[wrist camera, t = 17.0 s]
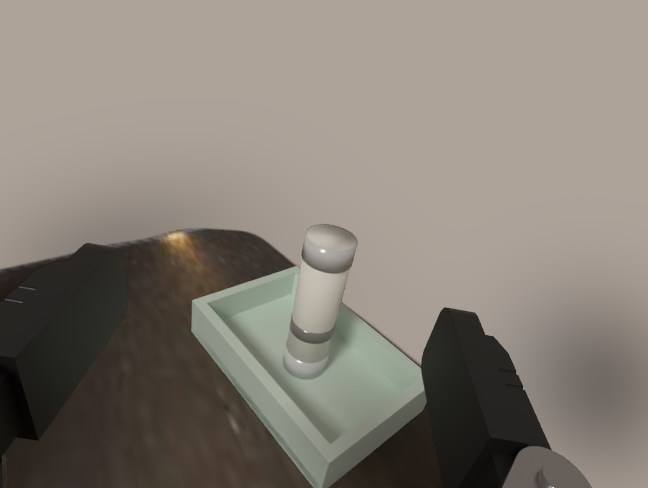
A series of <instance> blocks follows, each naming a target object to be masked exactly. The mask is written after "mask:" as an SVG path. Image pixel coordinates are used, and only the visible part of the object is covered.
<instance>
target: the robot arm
mask: <svg viewBox="0 0 648 488" xmlns="http://www.w3.org/2000/svg"><path fill="white" fill-rule="evenodd" d="M126 307H127V286H126V274H125V262H124V254H123V251H122V250H121V249H119V248H114V247H108V246H102V245H96V244H91V243H86V244H84V245H83V246H82V247H81V248H80V249H78V250H77V251H76V252H75V253H74V254H73V255H72V256H71V257H70V258H69V259H68V260H67V261H66V260H60V259H59V260H57V261H55V262H53V263H50V264H48V265H46V266H44V267H42V268H40V269H38V270H36V271H35V272H34V273H32V274H31V275H30V276H29V277H28V278H27V279H26V280H24V281H23V282H22V283H21V284H20V285H19V288H15V289H14V290H13V291H12V292H11V293H10V294H9V295H7V296H6V297H5V300H4V301H1V302H0V488H8V478H7V463H6V456H5V451H6V450H7V449H8V447H9V446H10V445H11V443H12V442H13V441H14V439H15V438H16V437H18V438H25V439H31V440H38V441H39V439H40V438H41V436H42V435H43V433H44V432H45V431H46V429H47V428H48V426H49V425H50V423H51V422H52V420H53V419H54V418H55V416H56V415H57V413H58V412H59V410H60V409H61V408H62V406H63V405H64V403H65V402H66V400H67V399H68V397H69V396H70V395H71V393H72V392H73V390H74V389H75V387H76V386H77V385H78V383H79V382H80V380H81V379H82V377H83V376H84V374H85V373H86V372H87V370H88V369H89V367H90V366H91V364H92V363H93V362H94V360H95V359H96V357H97V356H98V354H99V353H100V351H101V350H102V349H103V347H104V346H105V344H106V343H107V341H108V340H109V339H110V337H111V336H112V334H113V333H114V331H115V330H116V328H117V327H118V326H119V324H120V323H121V321H122V319H123V317H124V314H125V311H126ZM421 374H422V379H423V385H424V390H425V395H426V400H427V405H428V410H429V416H430V421H431V426H432V431H433V436H434V442H435V447H436V452H437V457H438V462H439V468H440V473H441V478H442V483H443V488H592V487H591V486H590V484H589V482H588V481H587V480H586V478H585V477H584V476H583V474H582V473H581V472H580V471H579V470H578V469H577V467H575V466H574V465H573V464H572V463H571V462H570V461H568V460H567V459H566V458H565V457H563V456H561V455H560V454H558V453H556V452H554V451H552V450H551V448H550V445H549V443H548V441H547V439H546V437H545V434H544V432H543V430H542V428H541V425H540V423H539V421H538V419H537V416H536V414H535V412H534V410H533V407H532V405H531V403H530V401H529V398H528V396H527V394H526V392H525V390H523V385H522V383H521V381H520V378H519V376H518V375H516V370H515V367H514V365H513V363H512V361H511V358H510V356H509V354H508V352H507V351H506V350H505V349H504V348H503V347H502V346H501V345H500V343H499V342H498V341H497V340H496V339H495V338H494V337H493V336H488V335H485V333H484V331H483V328H482V326H481V323H480V321H479V318H478V316H477V315H476V313H473V312H468V311H462V310H457V309H451V308H443V309H442V311H441V312H440V314H439V317H438V319H437V321H436V323H435V326H434V328H433V330H432V333H431V335H430V337H429V340H428V342H427V344H426V347H425V349H424V352H423V356H422V363H421Z"/></svg>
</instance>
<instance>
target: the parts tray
mask: <svg viewBox="0 0 648 488" xmlns="http://www.w3.org/2000/svg"><path fill="white" fill-rule="evenodd" d="M299 273H300V268H299V267H297V266H295V267H292V268H289V269H286V270H283V271H280V272H277V273H274V274H271V275H268V276H265V277H262V278H259V279H256V280H253V281H250V282H247V283H244V284H241V285H238V286H234V287H231V288H228V289H225V290H222V291H219V292H216V293H213V294H210V295H207V296H204V297H201V298H198V299H195V300H192V332H193V334H194V335H195V336H196V338H197V339H198V340H199V341H200V343H201V344H202V345H203V347H204V348H205V349H206V350H207V352H208V353H209V354H210V356H211V357H212V358H213V359H214V361H215V362H216V363H217V365H218V366H219V367H220V368H221V370H222V371H223V372H224V374H225V375H226V376H227V377H228V379H229V380H230V381H231V383H232V384H233V385H234V386H235V388H236V389H237V390H238V392H239V393H240V394H241V395H242V397H243V398H244V399H245V400H246V402H247V403H248V404H249V406H250V407H251V408H252V409H253V411H254V412H255V413H256V415H257V416H258V417H259V418H260V420H261V421H262V422H263V424H264V425H265V426H266V427H267V429H268V430H269V431H270V433H271V434H272V435H273V436H274V438H275V439H276V440H277V442H278V443H279V444H280V445H281V447H282V448H283V449H284V451H285V452H286V453H287V454H288V456H289V457H290V458H291V460H292V461H293V462H294V463H295V465H296V466H297V467H298V469H299V470H300V471H301V472H302V474H303V475H304V476H305V478H306V479H307V480H308V481H309V483H310V484H311V485H312V487H313V488H329V487H330V486H331V485H333V484H334V483H335V482H336V481H337V480H339V479H340V478H341V477H342V476H344V475H345V474H346V473H347V472H348V471H350V470H351V469H352V468H353V467H354V466H356V465H357V464H358V463H359V462H361V461H362V460H363V459H364V458H365V457H367V456H368V455H369V454H370V453H372V452H373V451H374V450H375V449H376V448H378V447H379V446H380V445H381V444H383V443H384V442H385V441H386V440H387V439H389V438H390V437H391V436H392V435H394V434H395V433H396V432H397V431H398V430H400V429H401V428H402V427H403V426H405V425H406V424H407V423H408V422H409V421H411V420H412V419H413V418H414V417H416V416H417V415H418V414H419V413H420V412H422V411H423V409H424V407H425V405H426V402H427V400H426V395H425V390H424V385H423V379H422V374H421V368H420V367H419V366H417V365H416V364H415V363H414V362H412V361H411V360H410V359H409V358H408V357H406V356H405V355H404V354H403V353H402V352H400V351H399V350H398V349H397V348H396V347H394V346H393V345H392V344H391V343H389V342H388V341H387V340H386V339H385V338H383V337H382V336H381V335H380V334H379V333H377V332H376V331H375V330H374V329H373V328H371V327H370V326H369V325H368V324H366V323H365V322H364V321H363V320H362V319H360V318H359V317H358V316H357V315H356V314H354V313H353V312H352V311H351V310H350V309H348V308H347V307H346V306H345V305H343V304H342V303H341V305H340V309H339V313H338V317H337V321H336V326H335V330H334V334H333V336H332V340H331V344H330V352H329V356H328V360H327V364H326V368H325V371H324V372H323V374H322V375H320V376H319V377H317V378H314V379H309V380H305V379H299V378H296V377H294V376H292V375H291V374H289V373H288V372H287V371H286V369H285V368H284V366H283V354H284V349H285V343H286V340H287V338H288V333H289V327H290V320H291V315H292V311H293V306H294V300H295V295H296V289H297V284H298V278H299Z"/></svg>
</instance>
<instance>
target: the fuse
mask: <svg viewBox="0 0 648 488" xmlns="http://www.w3.org/2000/svg"><path fill="white" fill-rule="evenodd" d="M356 247H357V239H356V237H355V236H354V235H353V234H352V233H351V232H349V231H348V230H346V229H344V228H341V227H338V226H334V225H327V224H319V225H314V226H311V227H309V228H308V229H307V230H306V233H305V239H304V244H303V250H302V262H301V267H300V273H299V278H298V284H297V289H296V295H295V300H294V306H293V311H292V315H291V320H290V327H289V333H288V338H287V340H286V343H285V349H284V354H283V366H284V368H285V369H286V371H287V372H288V373H289V374H291V375H292V376H294V377H296V378H299V379H305V380H309V379H314V378H317V377H319V376H320V375H322V374H323V372H324V371H325V368H326V364H327V360H328V356H329V352H330V344H331V340H332V336H333V334H334V330H335V326H336V321H337V317H338V313H339V309H340V305H341V301H342V297H343V293H344V289H345V285H346V281H347V277H348V273H349V269H350V268H351V266H352V263H353V259H354V255H355V251H356Z"/></svg>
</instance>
